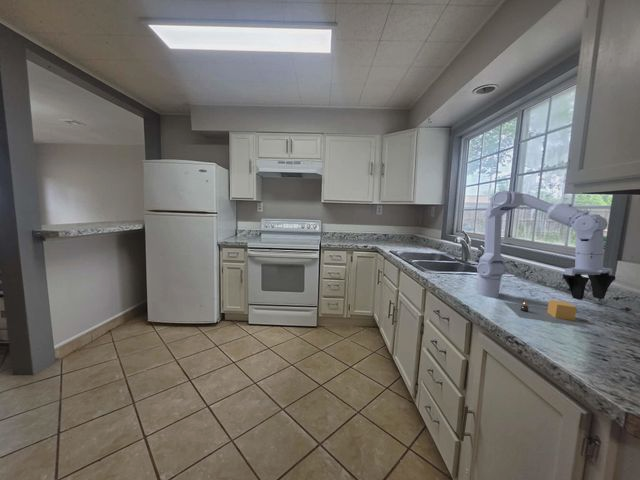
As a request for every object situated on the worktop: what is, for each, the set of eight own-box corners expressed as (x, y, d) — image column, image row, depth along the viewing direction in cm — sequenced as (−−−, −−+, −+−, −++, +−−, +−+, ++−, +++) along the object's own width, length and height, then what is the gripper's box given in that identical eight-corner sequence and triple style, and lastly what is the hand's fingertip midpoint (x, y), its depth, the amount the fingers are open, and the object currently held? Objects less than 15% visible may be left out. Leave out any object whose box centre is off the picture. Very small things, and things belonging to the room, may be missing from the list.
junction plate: (502, 304, 94) (502, 301, 94) (561, 313, 88) (562, 310, 88) (519, 320, 80) (519, 317, 80) (590, 332, 74) (591, 328, 74)
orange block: (547, 312, 85) (549, 299, 85) (565, 314, 84) (567, 302, 83) (555, 317, 81) (557, 304, 80) (574, 320, 79) (576, 307, 79)
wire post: (519, 309, 87) (520, 301, 87) (526, 310, 86) (527, 302, 86) (522, 311, 85) (523, 303, 85) (529, 312, 84) (530, 304, 84)
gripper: (585, 255, 69) (584, 302, 69) (626, 254, 71) (625, 301, 71) (557, 253, 76) (556, 296, 76) (595, 253, 78) (595, 295, 78)
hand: (588, 298), depth 74 cm, fingers open, 7 cm apart
